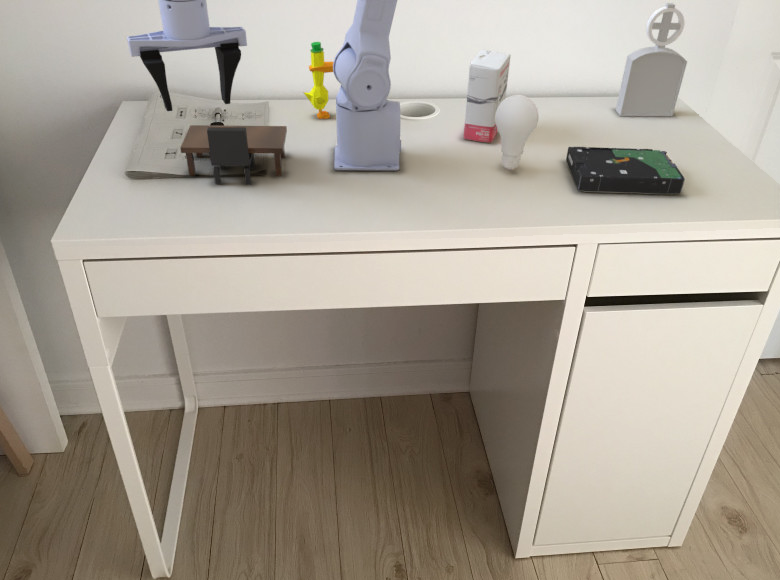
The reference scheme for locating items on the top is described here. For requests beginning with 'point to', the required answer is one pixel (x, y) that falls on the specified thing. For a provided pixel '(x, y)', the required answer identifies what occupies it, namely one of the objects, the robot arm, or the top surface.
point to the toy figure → (319, 80)
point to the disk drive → (623, 170)
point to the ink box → (485, 94)
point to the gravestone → (654, 71)
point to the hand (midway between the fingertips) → (197, 105)
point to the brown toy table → (257, 138)
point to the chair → (229, 150)
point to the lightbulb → (515, 127)
